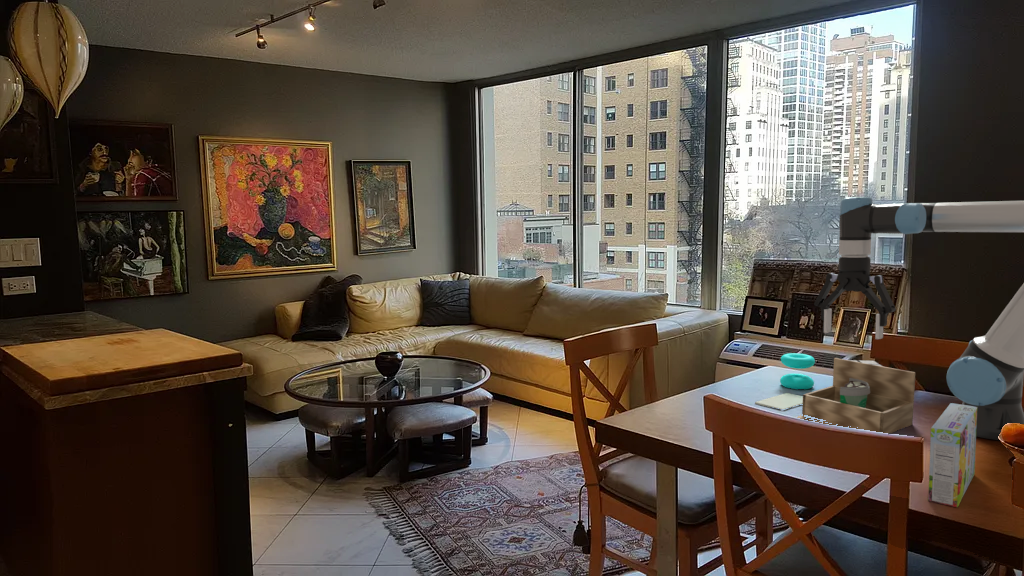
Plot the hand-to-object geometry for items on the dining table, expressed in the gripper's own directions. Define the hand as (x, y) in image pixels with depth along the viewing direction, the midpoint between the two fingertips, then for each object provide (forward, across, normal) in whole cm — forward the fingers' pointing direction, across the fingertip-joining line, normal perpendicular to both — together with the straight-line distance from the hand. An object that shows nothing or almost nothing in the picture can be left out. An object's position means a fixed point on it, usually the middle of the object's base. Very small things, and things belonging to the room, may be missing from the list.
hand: (852, 335), depth 181 cm
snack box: (+24, -34, +30) cm, 51 cm away
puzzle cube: (+23, +8, -24) cm, 34 cm away
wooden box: (+23, -2, +4) cm, 23 cm away
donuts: (+22, +26, -20) cm, 40 cm away
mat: (+22, +19, 0) cm, 29 cm away
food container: (+23, -2, +1) cm, 23 cm away
